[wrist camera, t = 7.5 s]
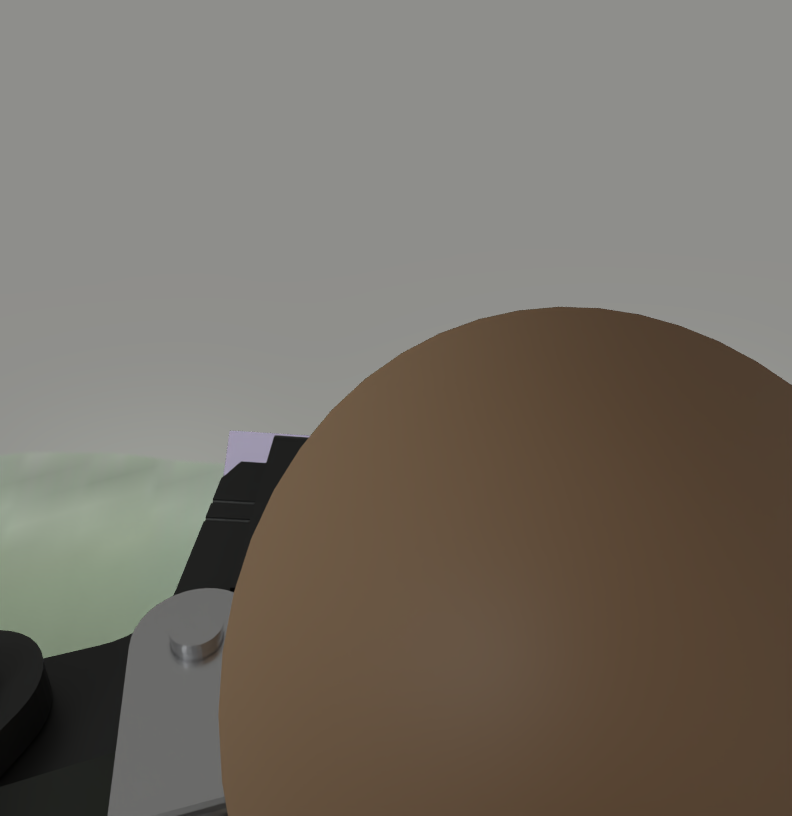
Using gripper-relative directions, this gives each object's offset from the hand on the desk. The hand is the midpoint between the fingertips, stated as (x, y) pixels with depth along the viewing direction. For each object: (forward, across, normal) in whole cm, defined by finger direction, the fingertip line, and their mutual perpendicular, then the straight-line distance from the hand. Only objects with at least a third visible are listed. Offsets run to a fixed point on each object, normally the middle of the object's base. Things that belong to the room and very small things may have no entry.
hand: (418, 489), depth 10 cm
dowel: (+4, 0, +6) cm, 7 cm away
